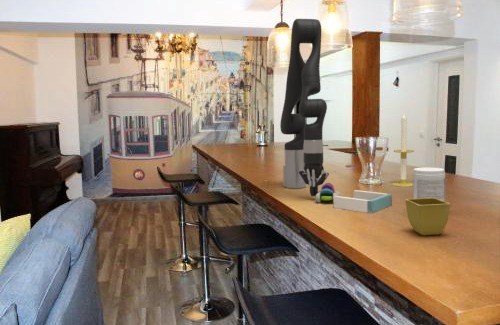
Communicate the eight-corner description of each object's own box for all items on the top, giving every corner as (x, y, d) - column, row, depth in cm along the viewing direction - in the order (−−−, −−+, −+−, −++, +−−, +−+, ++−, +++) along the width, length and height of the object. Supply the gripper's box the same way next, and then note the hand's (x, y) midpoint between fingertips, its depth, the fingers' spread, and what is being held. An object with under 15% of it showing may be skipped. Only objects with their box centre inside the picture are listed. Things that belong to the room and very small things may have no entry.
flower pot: (404, 229, 123) (404, 198, 122) (433, 227, 124) (434, 197, 123) (418, 238, 114) (419, 205, 113) (450, 236, 115) (451, 203, 114)
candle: (390, 186, 191) (391, 112, 187) (392, 182, 200) (392, 112, 196) (414, 187, 187) (415, 111, 183) (415, 183, 196) (416, 111, 192)
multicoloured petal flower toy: (340, 200, 166) (340, 181, 165) (337, 205, 157) (337, 185, 156) (319, 199, 169) (318, 180, 168) (314, 204, 160) (314, 185, 159)
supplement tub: (451, 215, 137) (452, 169, 135) (424, 218, 135) (425, 171, 133) (431, 209, 146) (432, 166, 144) (406, 211, 144) (407, 168, 142)
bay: (333, 207, 153) (333, 196, 152) (355, 200, 164) (355, 190, 163) (371, 213, 143) (371, 201, 142) (391, 205, 154) (391, 194, 153)
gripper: (293, 151, 167) (294, 195, 169) (322, 153, 158) (322, 199, 160) (305, 149, 173) (306, 192, 175) (333, 151, 163) (333, 196, 165)
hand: (314, 195), depth 167 cm, fingers closed
